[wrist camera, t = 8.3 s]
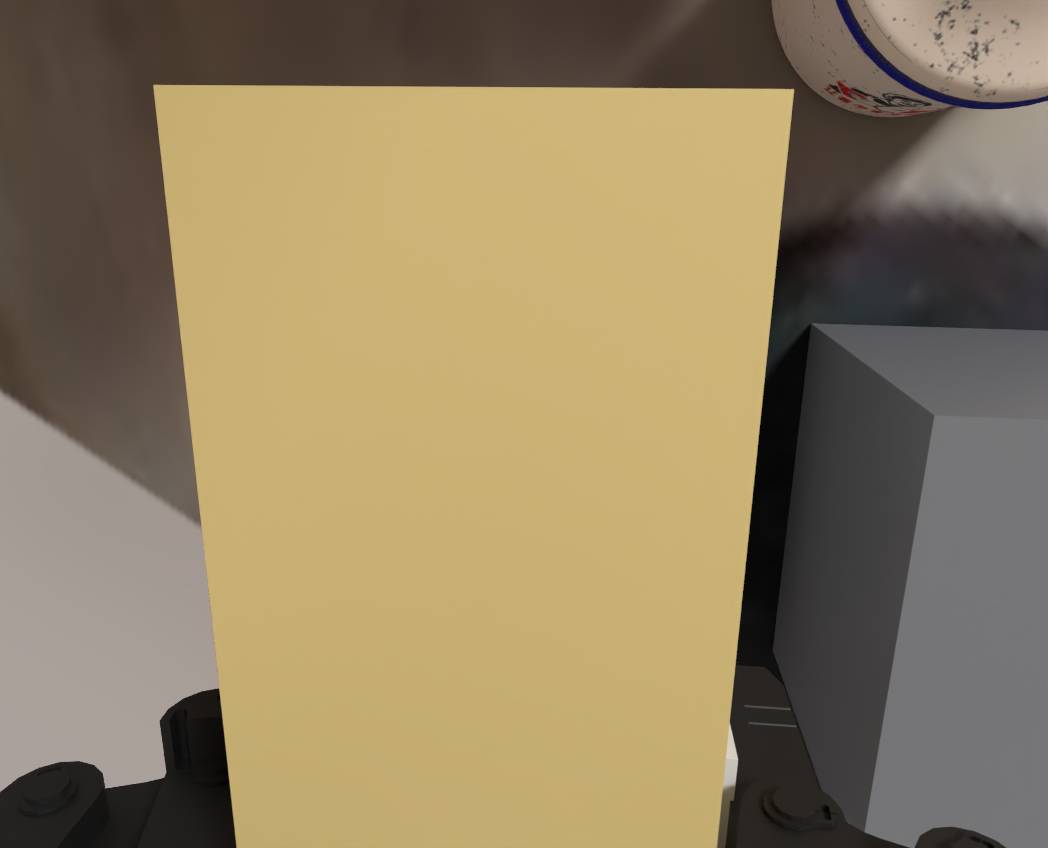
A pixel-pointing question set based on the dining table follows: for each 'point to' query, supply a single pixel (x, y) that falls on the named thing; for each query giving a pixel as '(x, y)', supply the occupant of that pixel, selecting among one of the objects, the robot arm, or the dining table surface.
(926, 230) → the dining table surface
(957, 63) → the teacup with lid
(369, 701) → the yellow cuboid
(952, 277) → the dining table surface
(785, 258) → the dining table surface
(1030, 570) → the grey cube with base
